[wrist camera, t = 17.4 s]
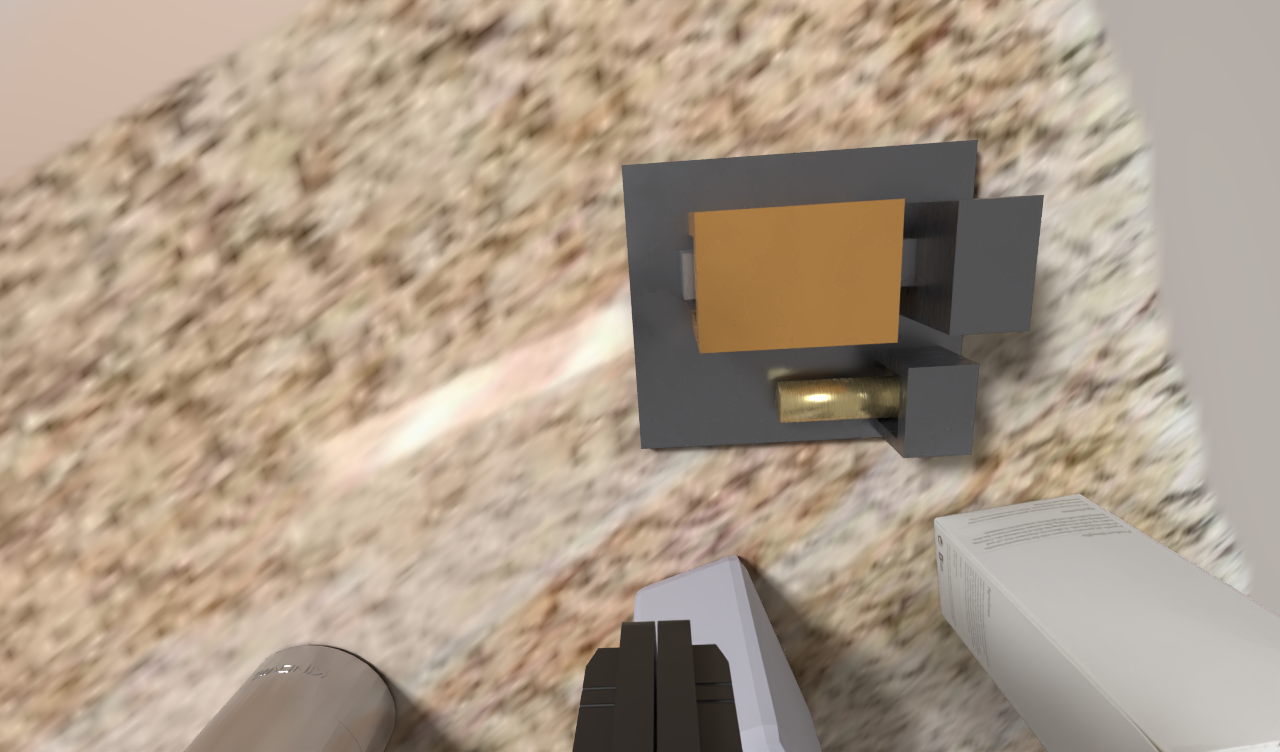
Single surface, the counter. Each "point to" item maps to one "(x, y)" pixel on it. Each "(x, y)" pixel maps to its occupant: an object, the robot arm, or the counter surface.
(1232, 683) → the skincare box
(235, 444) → the counter surface
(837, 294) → the block
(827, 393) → the pin
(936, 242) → the stand
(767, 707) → the soap bottle
